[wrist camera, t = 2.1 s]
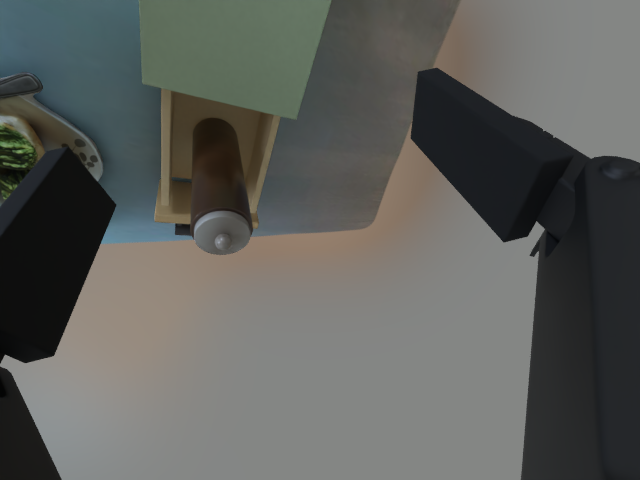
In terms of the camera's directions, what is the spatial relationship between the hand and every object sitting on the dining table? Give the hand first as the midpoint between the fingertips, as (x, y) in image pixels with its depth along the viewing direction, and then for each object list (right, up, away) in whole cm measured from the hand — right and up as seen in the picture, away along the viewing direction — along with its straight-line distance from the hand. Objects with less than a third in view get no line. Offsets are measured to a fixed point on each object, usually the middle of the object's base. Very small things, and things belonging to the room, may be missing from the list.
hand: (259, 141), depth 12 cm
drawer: (-12, +8, +27) cm, 30 cm away
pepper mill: (-11, +9, +25) cm, 28 cm away
